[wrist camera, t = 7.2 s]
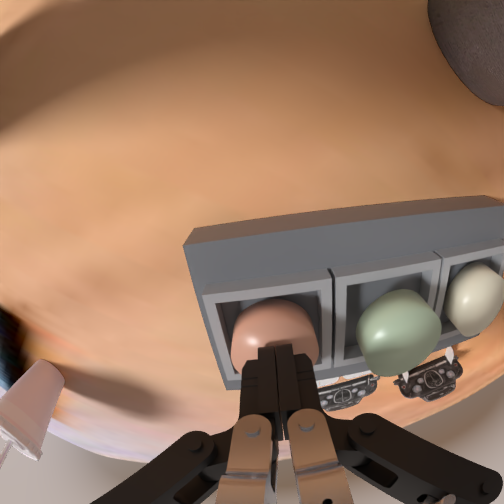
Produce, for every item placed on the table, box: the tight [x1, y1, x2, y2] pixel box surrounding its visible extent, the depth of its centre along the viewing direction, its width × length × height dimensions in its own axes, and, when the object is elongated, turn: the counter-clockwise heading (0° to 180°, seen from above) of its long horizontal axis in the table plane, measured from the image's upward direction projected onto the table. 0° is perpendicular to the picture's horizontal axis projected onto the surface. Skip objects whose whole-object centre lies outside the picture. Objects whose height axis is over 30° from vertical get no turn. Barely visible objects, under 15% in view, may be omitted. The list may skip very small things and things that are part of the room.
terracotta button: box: [231, 299, 319, 375], centre depth 13 cm, size 4×4×2 cm
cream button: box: [444, 262, 504, 337], centre depth 12 cm, size 4×4×2 cm
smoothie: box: [0, 359, 65, 468], centre depth 14 cm, size 6×6×14 cm
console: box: [183, 195, 504, 390], centre depth 14 cm, size 10×19×4 cm, turn 99°
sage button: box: [356, 289, 442, 377], centre depth 12 cm, size 4×4×2 cm
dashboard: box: [316, 346, 463, 412], centre depth 18 cm, size 15×7×4 cm, turn 105°
